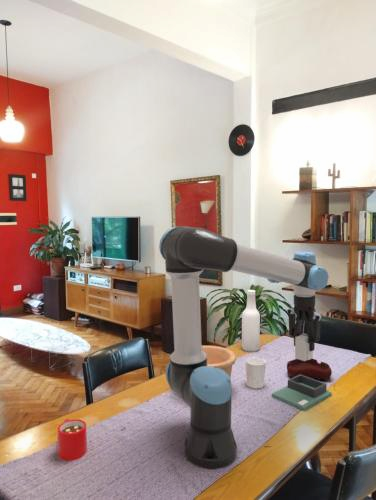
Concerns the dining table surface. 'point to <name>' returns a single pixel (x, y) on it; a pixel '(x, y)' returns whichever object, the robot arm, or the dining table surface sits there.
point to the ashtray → (309, 369)
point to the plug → (301, 347)
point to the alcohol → (250, 324)
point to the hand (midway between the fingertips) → (303, 356)
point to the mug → (72, 439)
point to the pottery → (220, 358)
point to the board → (302, 392)
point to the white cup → (255, 372)
